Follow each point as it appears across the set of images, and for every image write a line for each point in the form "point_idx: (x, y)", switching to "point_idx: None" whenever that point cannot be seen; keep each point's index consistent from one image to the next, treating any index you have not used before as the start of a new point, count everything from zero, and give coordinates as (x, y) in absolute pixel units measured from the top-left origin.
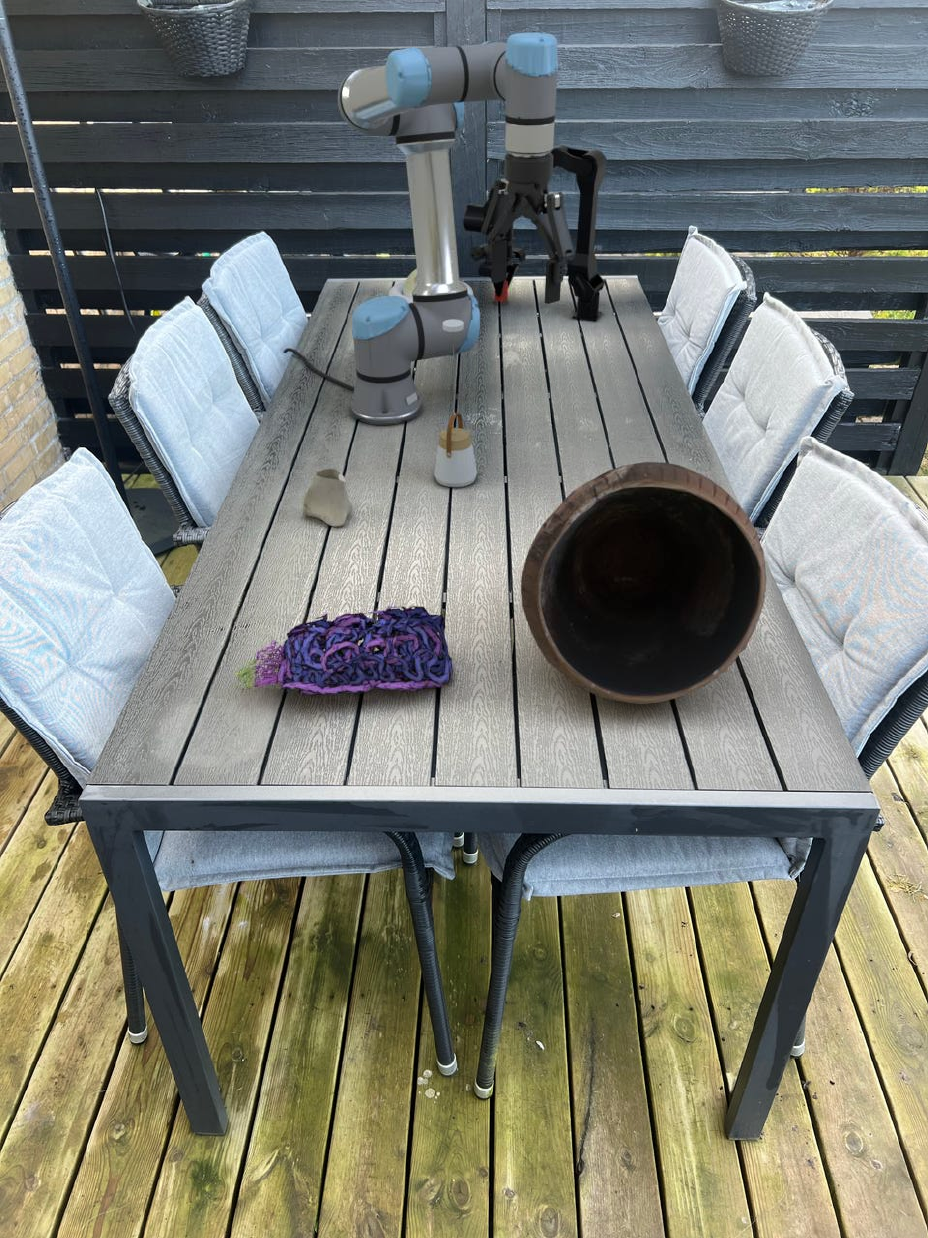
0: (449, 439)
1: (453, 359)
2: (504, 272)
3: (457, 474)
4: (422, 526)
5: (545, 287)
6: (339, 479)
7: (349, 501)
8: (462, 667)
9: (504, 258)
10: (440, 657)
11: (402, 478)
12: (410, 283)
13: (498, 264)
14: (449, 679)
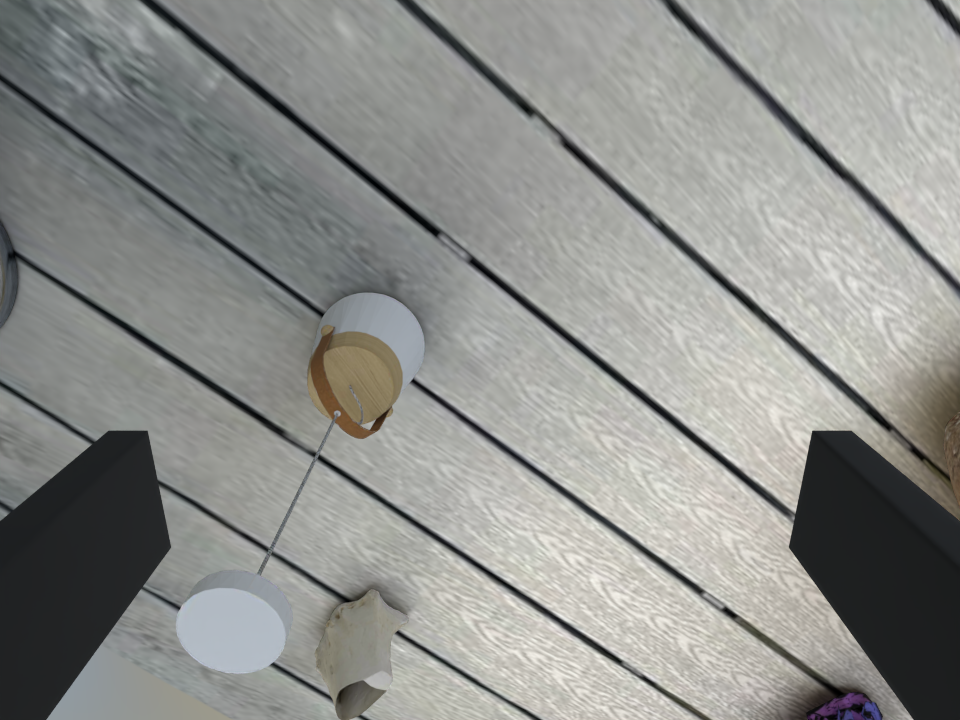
0: (378, 425)
1: (287, 519)
2: (115, 489)
3: (412, 378)
4: (501, 508)
5: (859, 639)
6: (385, 689)
7: (379, 615)
8: (862, 671)
9: (25, 578)
10: (843, 703)
11: (300, 432)
12: None
13: (77, 615)
14: (870, 700)
